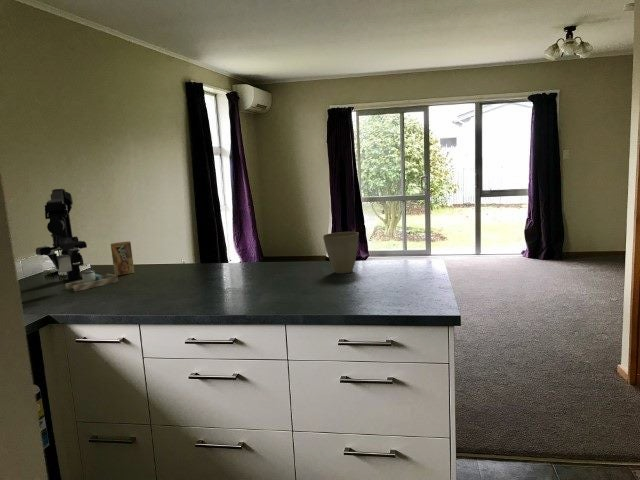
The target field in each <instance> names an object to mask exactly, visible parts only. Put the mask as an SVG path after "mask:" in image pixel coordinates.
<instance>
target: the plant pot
mask: <svg viewBox="0 0 640 480" xmlns="http://www.w3.org/2000/svg"><path fill="white" fill-rule="evenodd" d="M359 235H360V234H359V232H357V231H356V232H355V231H341V232H340V231H339V232H331V233H326V234H323V235H322V238H323V242H324V246H325V250H326V254H327V257H328V259H329V262H330V264H331V267H332V269H333V271H334V273H335V274H349V273H352V272H353V271H354V267H355V263H356V259H357V255H358V249H359V248H358V247H359Z"/></svg>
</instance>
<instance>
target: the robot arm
mask: <svg viewBox="0 0 640 480" xmlns="http://www.w3.org/2000/svg"><path fill="white" fill-rule="evenodd" d="M51 190H52V191H51V194H50V199H48V200H47V201H46V203H45V205H44V216H45V217H44V219H45V220H49V221H48V223H47V225H46V228H47V230H48V232H49V233H51V234H50V236H51V237H52V247H51V246H46V245H45V246H41V247H40V246H39V247H36V248H35V255H37V256H47V257H48V258H49V259H50V260H51V262H52V264H53V265H54V267H55V268H56V270H58V269H59V265H58V261H57V256H58V254H57V253H56V252H57V251H61V252H60V253H61V254H60V255H65V254H69V256H70V260H71V267H72V270H71V271H67V272H66V278H64V280H66V281H75V280H80V279H82V274H81V269H80V266H83V265H85V263H84V258H83V255H82V254H81V252H80V250H81V249H86V248H87V247H88V245H87V242H86V241H85V240H84V241H83V240H79V237H78V236H73V230H72V225H71V217H70V213H71V210H72V209H73V205H74V203H73V202H74V201H73V196H72V194H71V192H69V191H66V190H65V189H64V188H54V189H51Z"/></svg>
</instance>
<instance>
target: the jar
mask: <svg viewBox="0 0 640 480" xmlns="http://www.w3.org/2000/svg"><path fill="white" fill-rule="evenodd" d="M57 261H58V265H59V269H57V272H58V273H67V271H71V270H72V267H71V260H70V256H69V254H65V255H61V254H59V255H57Z"/></svg>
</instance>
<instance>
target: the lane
mask: <svg viewBox="0 0 640 480" xmlns="http://www.w3.org/2000/svg"><path fill="white" fill-rule="evenodd" d="M118 282H119V277H118V275H115V274H113V273H112V274H111V273H105V275H102V280H98V281H93V282H89V283H84V284H83V279H82V280H77V281H73V282H72V281H71V282H69V283H65V290H71V289H73V292H80V291H84V290H89V289H92V288H97V287H98V288H99V287H101V286H102V287H103V286H107V285H111V284H114V283H115V284H116V283H118Z"/></svg>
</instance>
